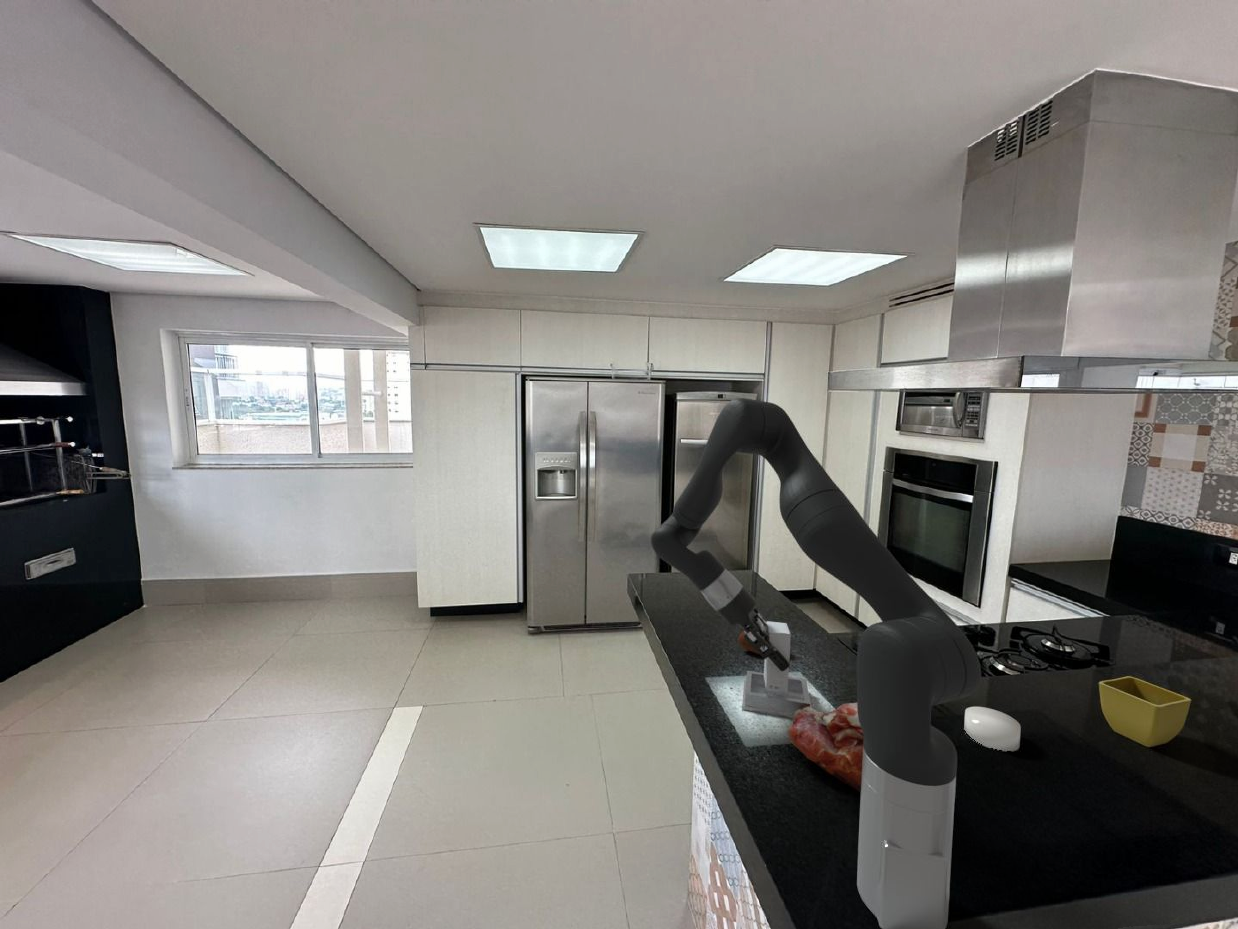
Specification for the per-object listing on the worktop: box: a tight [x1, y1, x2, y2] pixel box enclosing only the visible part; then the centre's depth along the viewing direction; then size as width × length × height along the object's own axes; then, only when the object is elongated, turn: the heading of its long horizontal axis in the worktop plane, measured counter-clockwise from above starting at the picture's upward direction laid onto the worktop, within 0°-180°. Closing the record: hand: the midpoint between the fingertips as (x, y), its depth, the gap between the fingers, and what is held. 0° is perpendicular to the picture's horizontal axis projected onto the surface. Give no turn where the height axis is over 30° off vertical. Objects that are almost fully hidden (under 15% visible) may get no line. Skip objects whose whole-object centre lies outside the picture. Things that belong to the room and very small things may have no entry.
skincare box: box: [763, 620, 792, 693], centre depth 100 cm, size 6×4×12 cm
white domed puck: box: [963, 706, 1022, 752], centre depth 89 cm, size 8×8×4 cm
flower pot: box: [1098, 675, 1192, 748], centre depth 89 cm, size 9×9×9 cm
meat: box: [787, 702, 863, 793], centre depth 84 cm, size 21×21×10 cm
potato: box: [737, 631, 765, 655], centre depth 122 cm, size 6×12×6 cm, turn 87°
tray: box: [741, 670, 812, 719], centre depth 101 cm, size 11×13×3 cm
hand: (785, 660), depth 100 cm, fingers closed on skincare box, 6 cm apart
